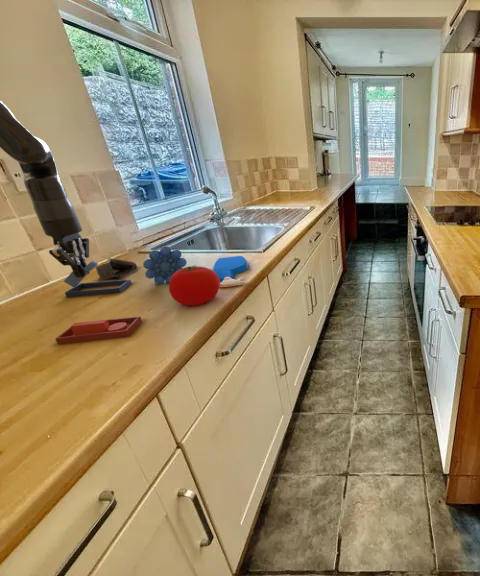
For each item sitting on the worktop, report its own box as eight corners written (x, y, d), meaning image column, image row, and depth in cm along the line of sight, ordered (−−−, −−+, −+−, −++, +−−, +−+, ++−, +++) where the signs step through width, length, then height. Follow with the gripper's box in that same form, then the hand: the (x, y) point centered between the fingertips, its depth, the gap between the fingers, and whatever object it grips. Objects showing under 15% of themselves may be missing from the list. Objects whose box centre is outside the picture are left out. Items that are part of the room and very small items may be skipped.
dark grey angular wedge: (118, 270, 113) (86, 255, 102) (138, 263, 114) (107, 248, 102) (119, 294, 110) (86, 281, 99) (139, 287, 110) (108, 274, 99)
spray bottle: (213, 258, 115) (209, 283, 94) (246, 254, 118) (248, 278, 98) (215, 266, 116) (211, 292, 95) (247, 262, 120) (250, 286, 99)
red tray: (58, 346, 69) (54, 338, 68) (78, 330, 75) (75, 322, 75) (129, 338, 72) (126, 330, 71) (143, 323, 78) (140, 316, 77)
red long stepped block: (131, 325, 76) (127, 315, 75) (123, 333, 73) (119, 323, 72) (82, 331, 74) (77, 320, 73) (72, 339, 71) (67, 328, 70)
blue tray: (67, 299, 91) (64, 292, 90) (82, 289, 97) (79, 283, 97) (121, 294, 94) (118, 288, 93) (132, 285, 100) (130, 279, 99)
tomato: (178, 297, 92) (168, 263, 87) (224, 291, 96) (217, 257, 91) (170, 314, 82) (158, 277, 78) (221, 307, 86) (213, 270, 82)
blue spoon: (100, 261, 94) (90, 255, 93) (93, 265, 91) (82, 259, 90) (79, 284, 95) (68, 278, 94) (71, 288, 92) (60, 282, 91)
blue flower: (192, 275, 107) (183, 241, 102) (191, 283, 101) (181, 246, 97) (151, 281, 103) (140, 245, 98) (147, 289, 97) (135, 251, 92)
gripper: (58, 212, 91) (82, 268, 98) (21, 222, 79) (51, 286, 86) (88, 210, 93) (110, 266, 100) (56, 220, 80) (83, 283, 88)
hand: (83, 275), depth 93 cm, fingers closed on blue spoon, 1 cm apart
